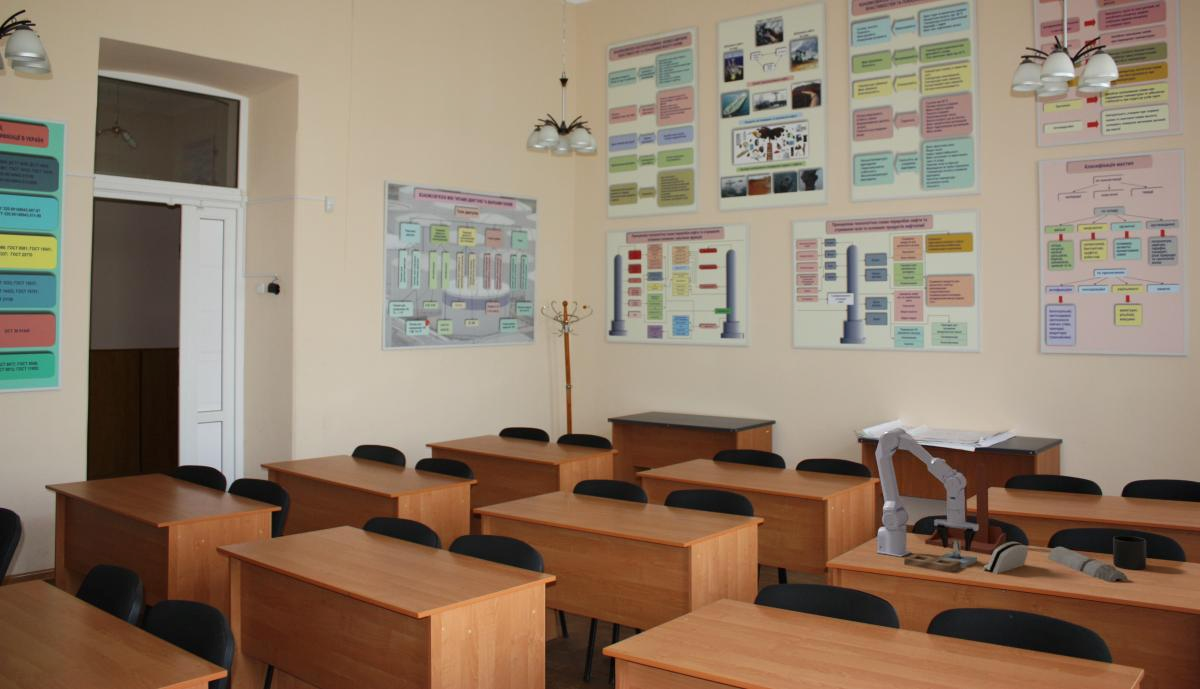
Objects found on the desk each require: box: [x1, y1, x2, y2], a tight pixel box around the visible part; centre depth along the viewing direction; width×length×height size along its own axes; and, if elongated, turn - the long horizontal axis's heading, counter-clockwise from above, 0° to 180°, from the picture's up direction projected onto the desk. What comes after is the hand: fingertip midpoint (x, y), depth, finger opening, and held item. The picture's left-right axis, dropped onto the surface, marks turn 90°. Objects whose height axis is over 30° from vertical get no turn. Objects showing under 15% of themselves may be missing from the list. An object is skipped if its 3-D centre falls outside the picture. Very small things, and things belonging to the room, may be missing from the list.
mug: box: [1112, 535, 1147, 571], centre depth 310 cm, size 9×12×9 cm
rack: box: [903, 553, 962, 573], centre depth 315 cm, size 16×8×2 cm, turn 46°
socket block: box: [937, 552, 978, 568], centre depth 319 cm, size 10×10×2 cm
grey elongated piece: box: [1047, 546, 1129, 583], centre depth 307 cm, size 9×4×30 cm
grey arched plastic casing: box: [982, 541, 1029, 574], centre depth 309 cm, size 17×5×10 cm, turn 125°
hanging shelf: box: [924, 461, 1007, 556], centre depth 341 cm, size 24×13×30 cm, turn 43°
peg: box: [951, 541, 962, 559], centre depth 319 cm, size 3×3×7 cm
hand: (956, 549), depth 319 cm, fingers open, 7 cm apart
